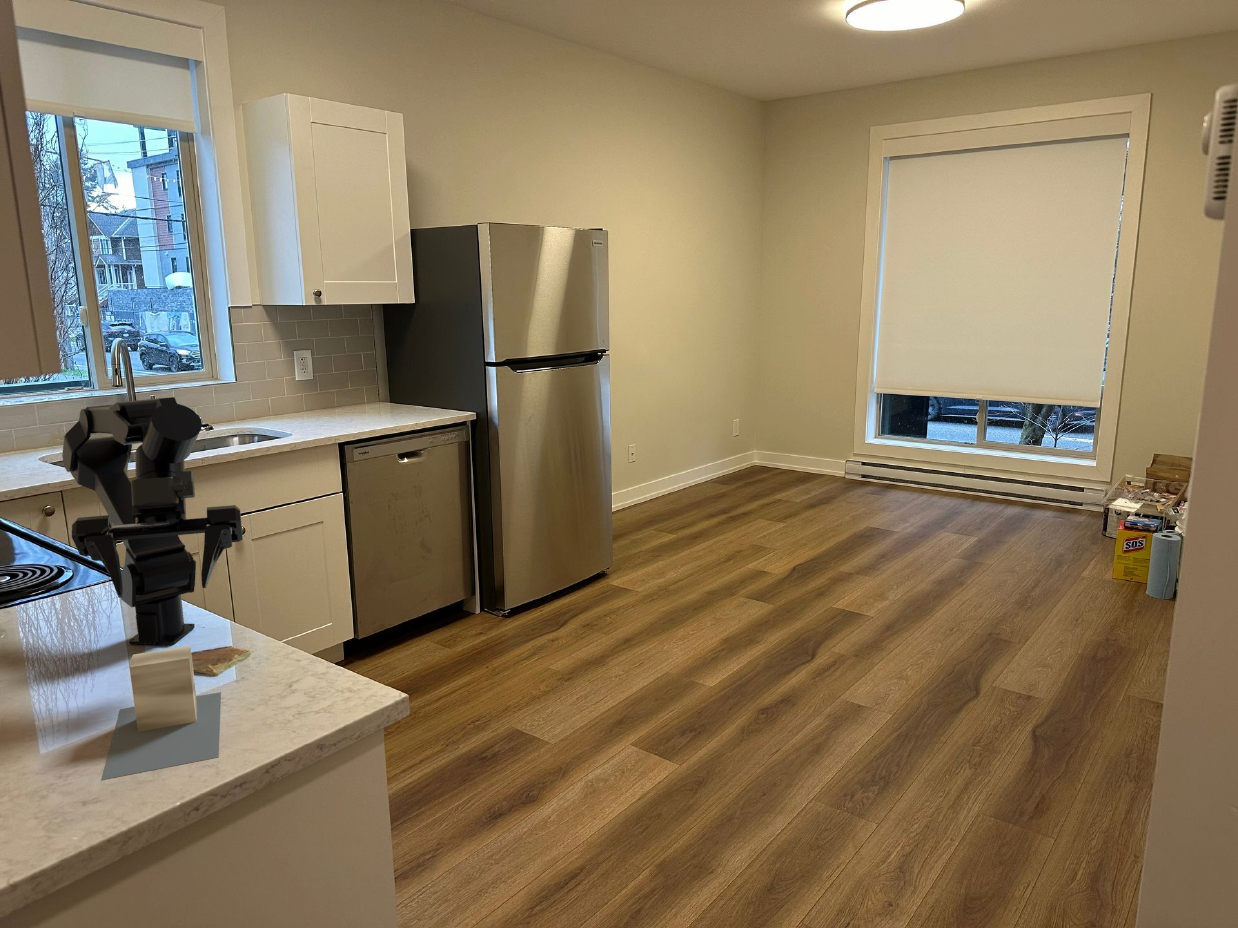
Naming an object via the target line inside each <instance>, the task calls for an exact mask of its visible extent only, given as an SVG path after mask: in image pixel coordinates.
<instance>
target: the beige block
mask: <svg viewBox="0 0 1238 928" xmlns="http://www.w3.org/2000/svg"><path fill="white" fill-rule="evenodd" d="M191 647H192V646H189V645H188V646H181V647H177V648H169V649H163V650H155V651H148V652H141V653H136V654H135V653H134V654H132V657H131V661H130V663H129V673H130V679H131V680H130V681H131V689H132V696H133V704H134V706H133V707H135V713H136V721H137V729H138V732H140V731H146V730H152V729H157V728H163V727H168V726H174V725H180V724H185V723H191V722H196V718H197V699H196V696H197V694H196V693H197V691H196V682H195V672H193V663H192V654H191V653H192V648H191Z"/></svg>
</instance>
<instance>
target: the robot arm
mask: <svg viewBox="0 0 1238 928" xmlns="http://www.w3.org/2000/svg"><path fill="white" fill-rule="evenodd" d="M202 424H203V423H202V419H201V417H200V415H199V414H197V413H196V412H195V411H194V410H193V409H192V408H191V407H188V406H186V405H184V404H180V403H178V402H177V399H176V397H175V396H170V397H158V398H149V399H148V398H147V399H138V400H125V401H117V402H115V403H113V404H105V405H92V406H86V407H85V408H81V409H80V411H79V418H78V421H77V422H76V423H75V424H74V425H73V426H72V427H70V429H69V430H68V431H67V432H66V433H65V434H64V436H63V445H62V446H63V447H62V462H63V467H64V470H65V471H66V472H68V473H70V474H71V476H72V477H73V479H74V480H75V482H76V483H77V484H78V485H79V486H81V487H85V488H87V489H88V490H92V491H94V492H95V493H96V495H97V497H98V498H99V501H100V502H101V504H102V506H103V508H104V510H105V512H106V513H107V514H106V515H95V516H83V517H77V518H76V520H74V522H73V523H72V525H71V539H72V541H73V543H74V546H75V547H76V549H77V552H78V553H79V556H83V557H90V559H91V560H92V561H94V562H98V561H100V562H101V563H102V564H103V566H104V567H105V569H106V571H107V572H108V575H109V577H110V579H111V582H112V585H113V587H114V589H115V592H116V595H117V597H118V598H119V599H120V600H122V602H124V603H126V605H128V606H129V607H130V608H135V622H136V629H137V631H136V632H137V634H135V635H134V636H133V637H130V638H129V639H128V644H129V645H165V646H166V645H168V646H169V645H170V646H171V645H174V644H175V643H177V642H178V641H179V640H181V639H182V638H183V637H185V636H186V634H188V633H189V632H191V631H192V630H194V629H195V623H185V619H184V618H185V617H184V611H183V609H184V608H183V602H182V601H183V600H182V595H185V594H188V593H192V594H193V593H194V592H195V587H196V574H197V573H196V571H197V568H196V567H197V562H196V560H195V559H194V557H193V555H192V554H191V552H190V551H187V549H186V545H185V544H184V543H183V542H182V540H181V539H180V537H179V536H183V535H185V536H186V535H194V534H195V535H197V534H204V542H203V545H204V546H203V553H202V563H201V574H200V575H201V588H202V589H206V588H207V586H208V584H209V581H210V579H211V576H212V573H213V571H214V568H215V566H216V564H217V563H218V562H217V561H219V558H220V557H221V555H222V553H223V552H224V550H225V549H230V548H232V547H233V543H239V542H241V541H242V540H243V539H244V538H243V537H244V536H243V523H242V515H241V508H239V507H238V506H237V505H235V504H232V505H223V506H221V505H220V506H207V507H206V517H197V518H187V504H186V503H187V501H186V499H193V498H195V496H196V494H195V493H196V491H195V479H194V478H195V477H194V472H193V470H185V460H186V459H188V458H189V457H190V456H191V453H192V452H193V451H192V450H193V448H194V446H195V444H196V442H197V440H198V436H199V435H200V432H201V430H202V426H203V425H202ZM92 434H107V435H112V436H105V437H103V436H102V437H95V438H94V437H93V438H91V435H92ZM135 444H140V445H139V446H138V447H137V448H136V450H135V479H133V480H131V479H130V478H129V477H128V471H129V463H130V460H131V454H132V448H133V445H135ZM118 541H122V543H123V545H124V547H125V555H124V556H125V557H124V565H123V568H122V570H121V562H120V555H119V553H118V550H117V549H118V548H117V542H118Z"/></svg>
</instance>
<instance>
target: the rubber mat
mask: <svg viewBox="0 0 1238 928" xmlns="http://www.w3.org/2000/svg"><path fill="white" fill-rule="evenodd" d="M196 699H197V718H196V722H191V723H185V724H180V725H174V726H168V727H163V728H157V729H152V730H146V731H140V732H138V729H137V721H136V713H135V706H131V707H125V708H124V707H123V708H120V709H119V714H118V716H117V720H116V725H115V728H114V732H113V736H112V740H111V742H110V747H109V750H108V755H107V759H106V760H105V765H104V770H103V774H102V778H101V781H105V780H110V779H115V778H121V777H125V776H131V775H136V774H141V773H145V772H147V773H148V772H150V771H151V772H152V771H156V770H161V769H165V768H166V769H167V768H171V767H176V766H177V767H178V766H181V765H187V764H192V763H196V762H197V763H198V762H202V761H207V760H212V759H216V758H219V756H220V755H219V754H220V753H219V752H220V732H221V731H220V730H221V704H222V701H221V700H222V692H220V691H218V692H214V693H207V694H202V695H196Z"/></svg>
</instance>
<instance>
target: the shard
mask: <svg viewBox="0 0 1238 928" xmlns="http://www.w3.org/2000/svg"><path fill="white" fill-rule="evenodd" d="M191 654H192V663H193V672H194V673H199V674H200V673H201V674H206V675H210V676H216V677H219V676H220V675H222V674H224V673H225V672H226V671H228V670H229V669H231V668H233V667H235V666H236V665H238V664H239V663H242V662H243V661H245V660H246V659H248V658H250V657H251V655H252V650H250V649H245V648H238V647H235V646H233V645H228V646H222V647H215V648H211V649H204V650H198V651H191Z"/></svg>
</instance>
